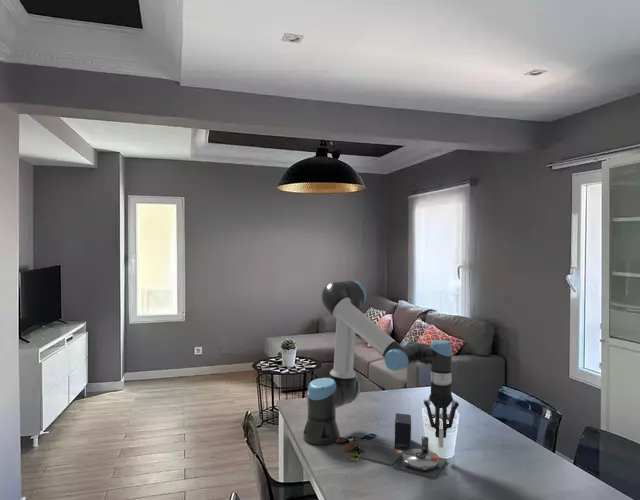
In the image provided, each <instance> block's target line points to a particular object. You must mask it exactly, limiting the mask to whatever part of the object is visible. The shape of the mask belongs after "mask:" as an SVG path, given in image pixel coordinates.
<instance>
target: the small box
mask: <svg viewBox="0 0 640 500" xmlns="http://www.w3.org/2000/svg"><path fill="white" fill-rule="evenodd" d="M394 419H395V420H394V446H393V449H398V450H409V449H411V443H412V442H411V441H412V415H411V414H404V413H397V412H396V413H395V418H394Z"/></svg>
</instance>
